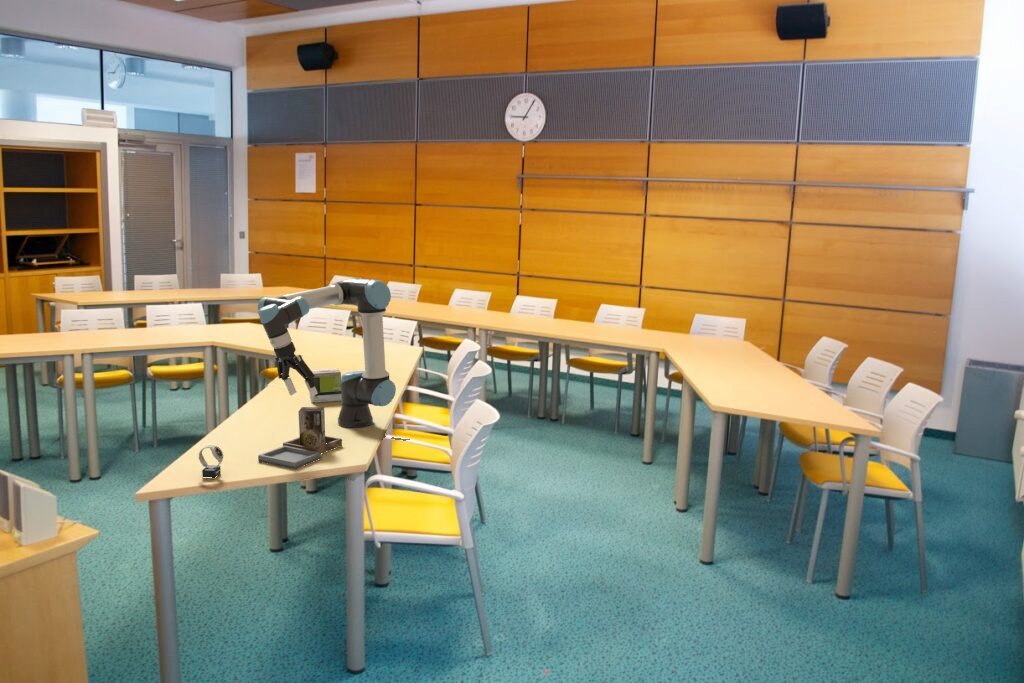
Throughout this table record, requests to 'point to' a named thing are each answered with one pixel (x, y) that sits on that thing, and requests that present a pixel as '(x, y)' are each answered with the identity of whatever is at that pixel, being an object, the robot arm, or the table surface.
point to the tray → (289, 457)
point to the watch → (211, 469)
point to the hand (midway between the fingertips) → (303, 394)
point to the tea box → (327, 385)
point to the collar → (330, 445)
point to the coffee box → (312, 426)
